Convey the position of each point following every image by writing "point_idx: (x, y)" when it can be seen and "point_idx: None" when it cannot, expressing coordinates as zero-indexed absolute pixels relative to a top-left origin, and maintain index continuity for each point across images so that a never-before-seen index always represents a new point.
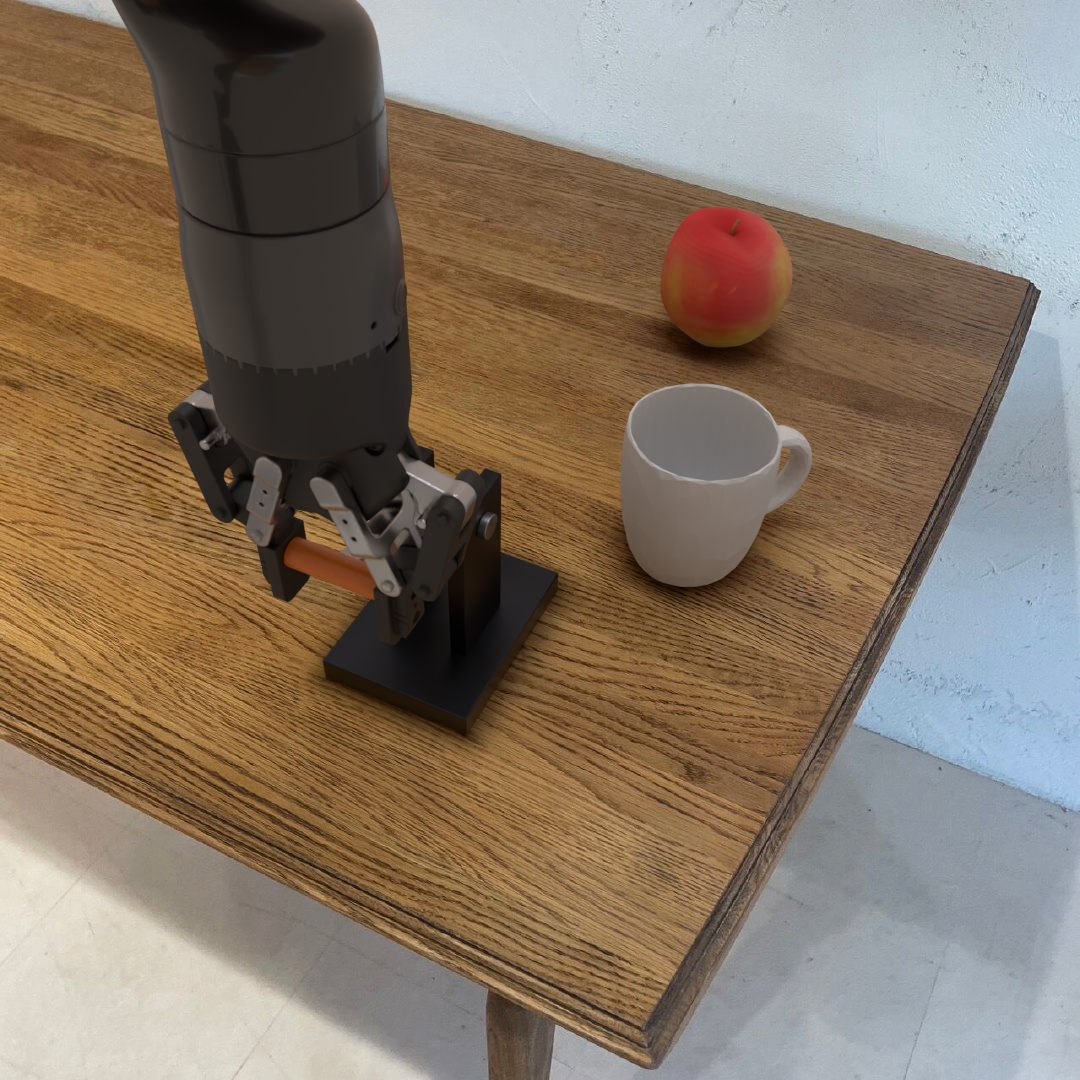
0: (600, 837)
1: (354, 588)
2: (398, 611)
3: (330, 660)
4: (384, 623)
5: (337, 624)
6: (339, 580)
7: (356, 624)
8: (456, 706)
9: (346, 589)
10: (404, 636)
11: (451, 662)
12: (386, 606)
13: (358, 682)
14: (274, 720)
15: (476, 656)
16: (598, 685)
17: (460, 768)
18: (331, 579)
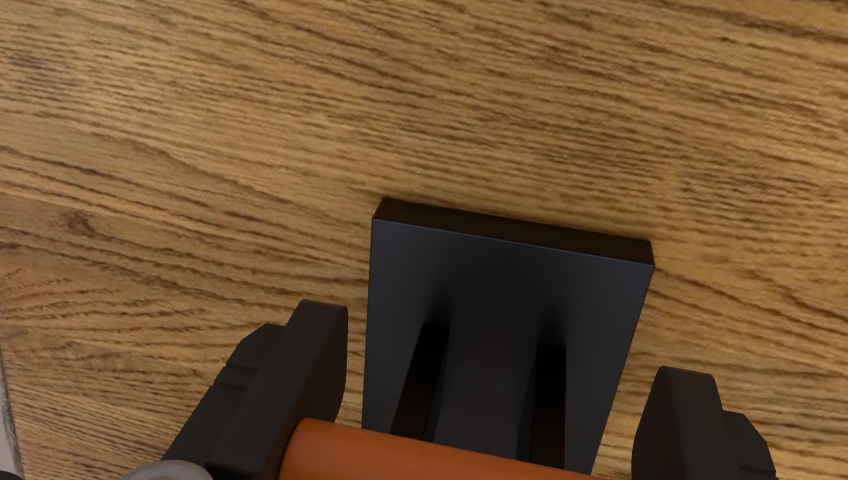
0: (130, 91)
1: (386, 455)
2: (238, 400)
3: (641, 268)
4: (288, 354)
5: (667, 335)
6: (441, 477)
7: (621, 341)
8: (395, 236)
9: (426, 445)
10: (269, 327)
11: (438, 308)
12: (240, 414)
13: (581, 242)
14: (712, 138)
15: (407, 325)
16: (250, 318)
17: (366, 141)
18: (476, 475)
